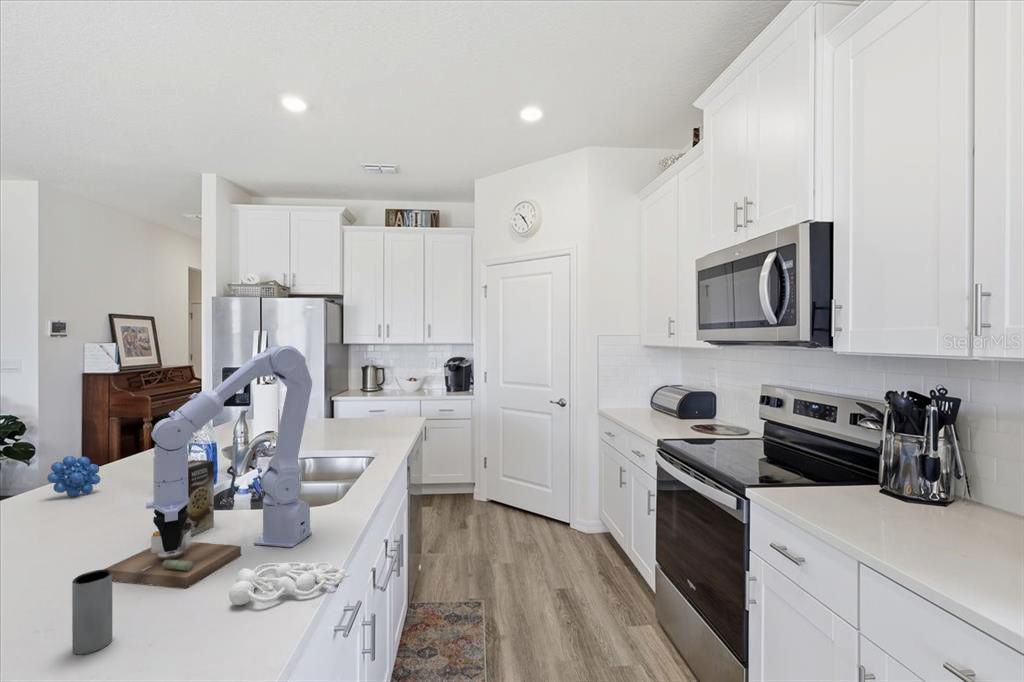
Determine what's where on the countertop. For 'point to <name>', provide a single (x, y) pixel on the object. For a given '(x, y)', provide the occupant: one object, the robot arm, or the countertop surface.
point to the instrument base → (171, 577)
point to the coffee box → (200, 496)
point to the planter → (91, 611)
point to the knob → (162, 555)
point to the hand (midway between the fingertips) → (171, 546)
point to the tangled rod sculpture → (283, 581)
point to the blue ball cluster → (74, 476)
